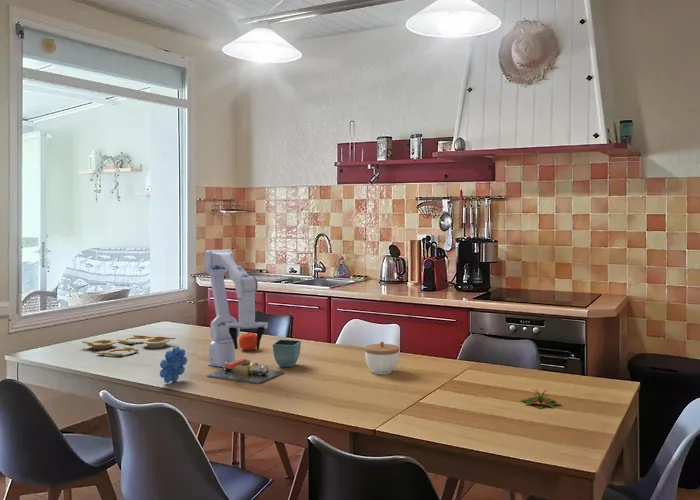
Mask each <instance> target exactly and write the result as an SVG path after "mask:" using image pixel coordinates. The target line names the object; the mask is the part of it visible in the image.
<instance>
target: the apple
mask: <svg viewBox="0 0 700 500" xmlns="http://www.w3.org/2000/svg"><path fill="white" fill-rule="evenodd" d="M238 344H239V345H238V346H239V347H240V348H241V349H242V350H243V351H248V352H249V351H250V352H251V351H254V350H255V349H257V334H256V333H254V332H250V331H249V330H248V331H247V333H244V334H241V335H239V337H238Z"/></svg>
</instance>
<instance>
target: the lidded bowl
mask: <svg viewBox="0 0 700 500" xmlns="http://www.w3.org/2000/svg"><path fill="white" fill-rule="evenodd" d="M399 358H400V347H399V346H398V345H395V344H391V343H385V342H384V341H380V343H373V344H372V343H371V344H368V345H365V346H364V360H365V363H366V366H367V367H368V369H369V370H370V371H371V372H372V373H373V374H374V375H389V374H391V373H393V371H394V370H396V368H397V366H398V363H399Z"/></svg>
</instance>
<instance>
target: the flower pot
mask: <svg viewBox="0 0 700 500" xmlns="http://www.w3.org/2000/svg"><path fill="white" fill-rule="evenodd" d="M301 345H302V340H298V339H297V340H295V339H293V340H292V339H278V340H277V341H275V342H274V343H273V344H272V350H273V357H274V360H275V362H276V364H277V365H278V367H283V368H293V367H294V366H295V365H296V363H297V362H298V359H299V358H300V353H301Z"/></svg>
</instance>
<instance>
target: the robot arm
mask: <svg viewBox="0 0 700 500" xmlns="http://www.w3.org/2000/svg"><path fill="white" fill-rule="evenodd" d="M203 263H204V268H205V269H204V270H205V273H207V274H208V275H209V277H210V283H211V290H212V296H213V303H214V304H213V305H214V309H215V315H216V317H215V318H214V319H212V320H211V322H210V329H209V331H210V332H209V333H210V339H211V340H212V341H211V342H210V343H209V347H208V363H207V365H208V366H215V367H222V368H223V363H224V362H225V361H230V362H234V361H236V350H237V349H238V346H239V345H238V344H239V343H238V339H239V338H240V334H241V332H240V329H241V330H243V329H256V336H257V347H256V350H259V349H260V344H261V339H262V337H263V333H264V331H265V330H267V329H268V328H269V327H268V325H269V324H268V323H269V322H266V321H265V322H264V321H256V307H255V306H256V301H255V300H256V294H255V293H256V292H257V291H258V287H259V286H258V285H259V283H258V280H257V278H256V276H254V275H250V274H248V272H247V271H246V270H245V269H244V268H243V267H242V266H241V265H237V263H236V262H235V260H234V252H233V251H232V250H231V249H230V248H228V249H207V250H206V251H205V253H204V256H203ZM227 272H228V276H229V278H230V280H231V281H232V282H233V283H234V286H235V287H234V288H235V291H236V298H237V300H238V301H237V302H238V321H237V318H235V317H234V316H232V315H231V314H230V309H229V302H228V297H227V292H226V285H225V284H226V283H225V278H224V275H225V274H226V273H227Z"/></svg>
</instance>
